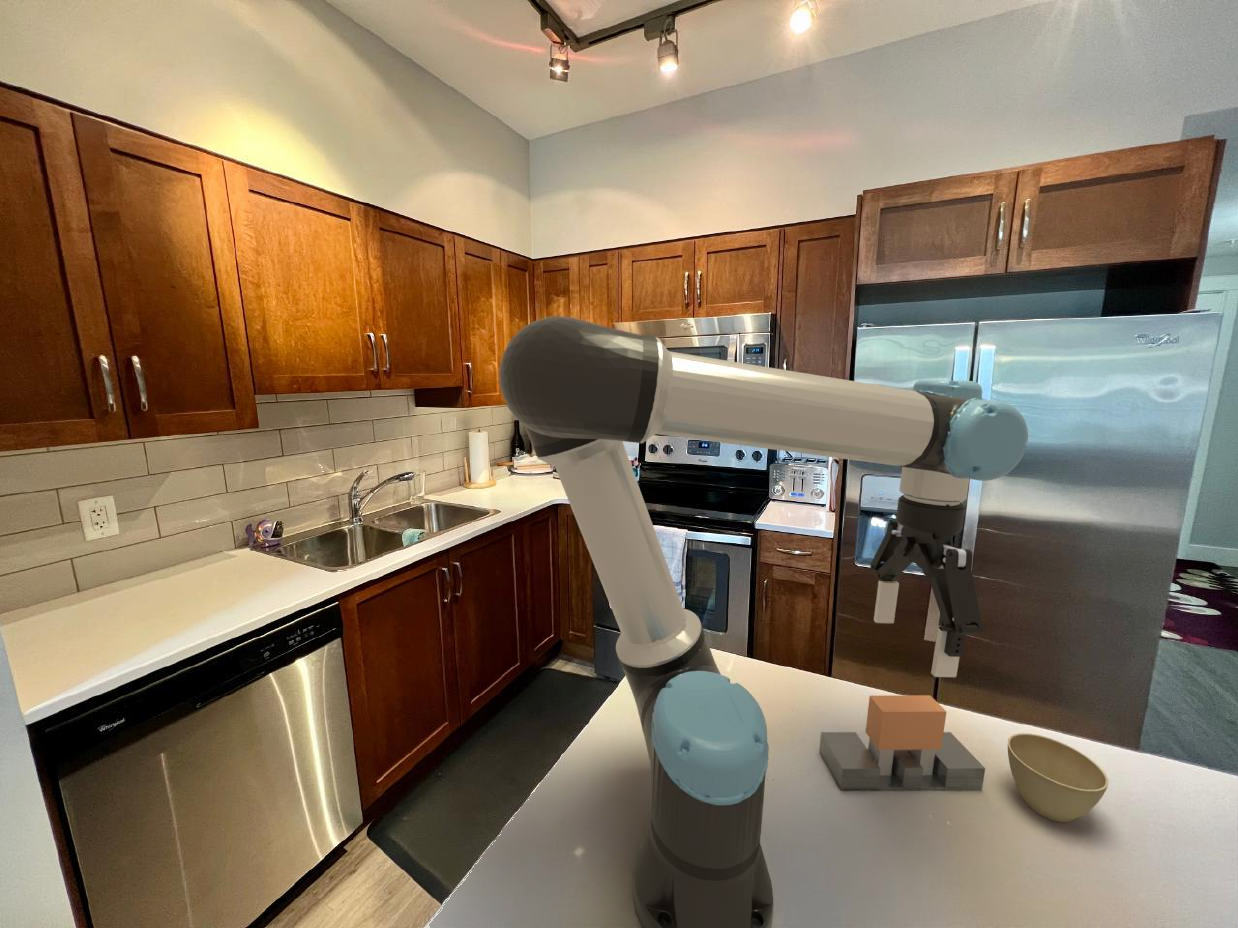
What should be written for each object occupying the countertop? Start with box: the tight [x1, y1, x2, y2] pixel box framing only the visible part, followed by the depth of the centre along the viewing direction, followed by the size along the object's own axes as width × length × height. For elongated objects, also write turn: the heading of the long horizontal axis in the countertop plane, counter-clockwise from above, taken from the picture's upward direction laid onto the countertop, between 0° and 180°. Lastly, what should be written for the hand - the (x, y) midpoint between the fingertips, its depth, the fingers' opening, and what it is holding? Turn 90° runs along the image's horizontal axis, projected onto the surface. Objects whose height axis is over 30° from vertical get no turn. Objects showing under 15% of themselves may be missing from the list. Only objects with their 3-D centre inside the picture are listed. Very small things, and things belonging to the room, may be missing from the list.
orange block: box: [865, 694, 947, 775], centre depth 70 cm, size 9×4×10 cm, turn 91°
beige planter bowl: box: [1007, 732, 1109, 823], centre depth 65 cm, size 10×10×7 cm
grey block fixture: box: [818, 731, 986, 792], centre depth 71 cm, size 20×7×4 cm, turn 91°
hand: (910, 646), depth 68 cm, fingers open, 13 cm apart
